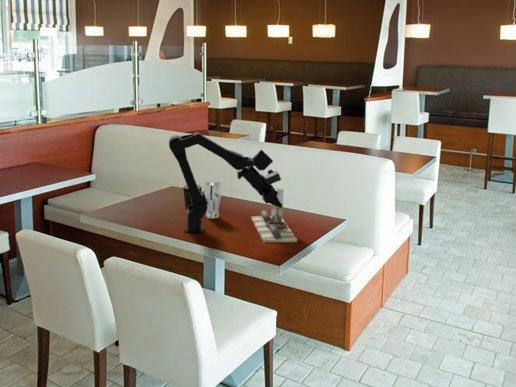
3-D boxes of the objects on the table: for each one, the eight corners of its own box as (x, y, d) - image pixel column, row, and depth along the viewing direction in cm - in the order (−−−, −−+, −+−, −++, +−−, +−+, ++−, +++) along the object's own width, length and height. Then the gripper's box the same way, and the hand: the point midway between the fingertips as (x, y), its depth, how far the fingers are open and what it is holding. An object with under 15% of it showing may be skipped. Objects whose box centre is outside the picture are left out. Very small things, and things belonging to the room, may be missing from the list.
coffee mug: (192, 204, 271) (192, 183, 268) (205, 207, 265) (206, 186, 263) (174, 208, 262) (174, 187, 259) (187, 212, 257) (187, 190, 254)
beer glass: (201, 217, 250) (201, 183, 247) (209, 213, 256) (210, 180, 253) (214, 220, 247) (215, 186, 243) (223, 216, 253) (223, 183, 249)
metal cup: (284, 221, 236) (285, 190, 233) (274, 222, 234) (275, 191, 231) (278, 218, 240) (280, 188, 237) (268, 219, 238) (270, 189, 235)
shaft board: (297, 241, 223) (297, 232, 222) (264, 242, 221) (264, 233, 220) (280, 217, 254) (280, 209, 253) (251, 218, 252) (251, 209, 251)
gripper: (273, 169, 221) (300, 197, 226) (265, 160, 239) (289, 186, 244) (252, 189, 222) (279, 217, 227) (245, 178, 240) (270, 204, 244)
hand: (280, 205), depth 235 cm, fingers closed on metal cup, 5 cm apart
